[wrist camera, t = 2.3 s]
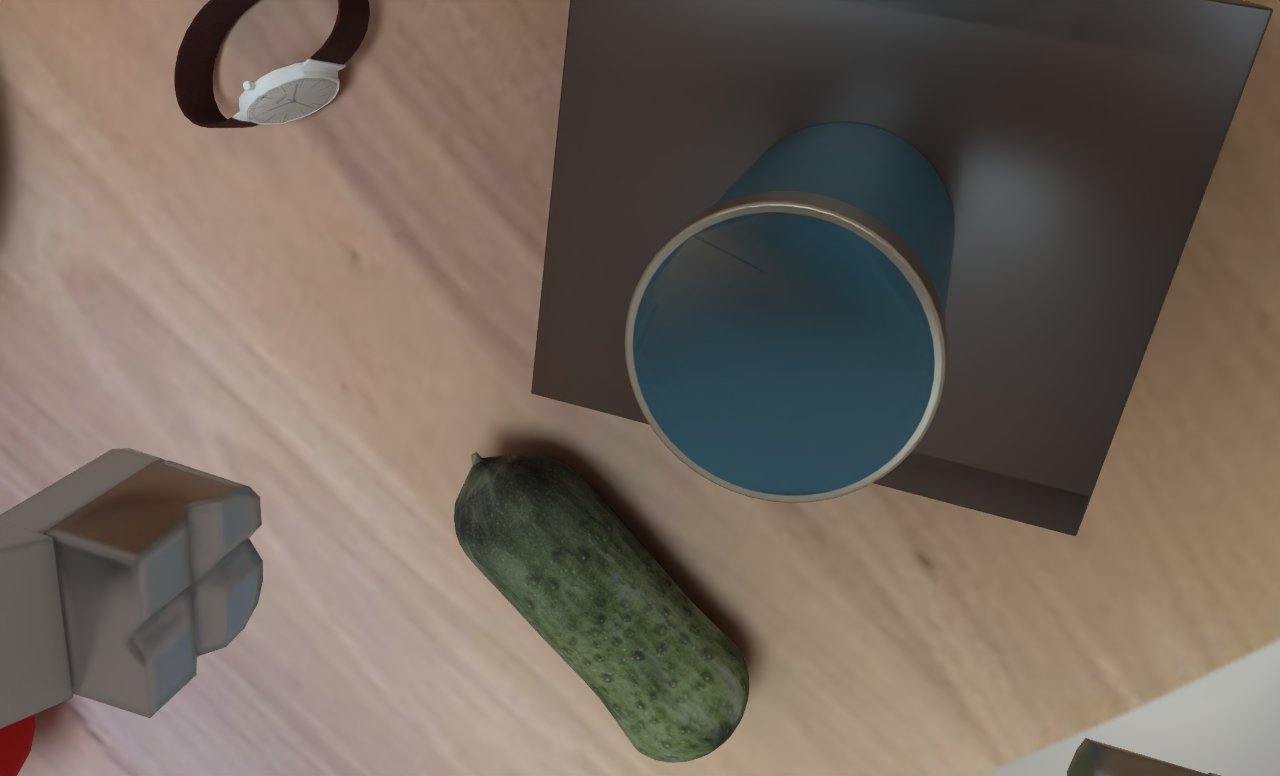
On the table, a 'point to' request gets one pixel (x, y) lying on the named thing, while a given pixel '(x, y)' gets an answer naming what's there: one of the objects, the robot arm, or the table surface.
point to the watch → (275, 92)
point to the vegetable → (602, 604)
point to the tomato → (15, 745)
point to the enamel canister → (800, 318)
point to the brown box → (966, 163)
